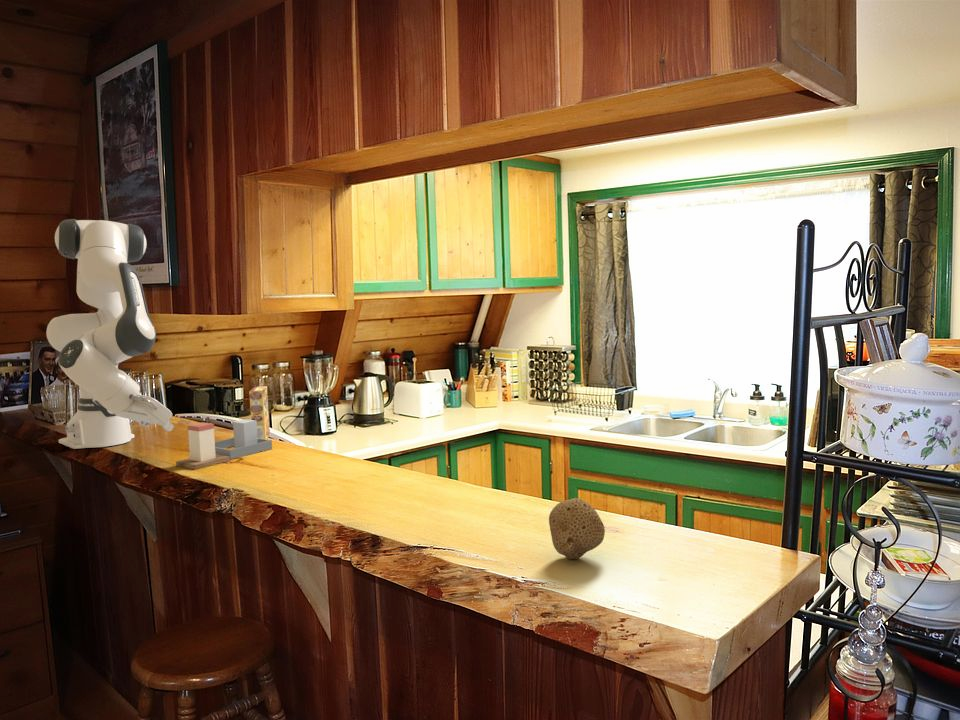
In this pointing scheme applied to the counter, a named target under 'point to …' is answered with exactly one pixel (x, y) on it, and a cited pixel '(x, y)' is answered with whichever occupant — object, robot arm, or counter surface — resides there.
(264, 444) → the grey square frame
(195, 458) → the cream carton
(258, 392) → the candy box
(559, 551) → the natural sponge
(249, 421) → the tall white block
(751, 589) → the counter surface
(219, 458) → the walnut board
